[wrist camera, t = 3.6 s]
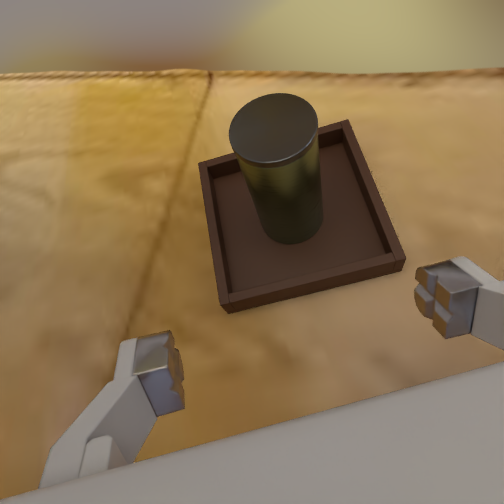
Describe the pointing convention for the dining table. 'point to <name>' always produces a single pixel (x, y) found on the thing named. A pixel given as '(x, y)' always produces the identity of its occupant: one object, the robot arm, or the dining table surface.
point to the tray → (310, 251)
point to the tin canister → (281, 164)
